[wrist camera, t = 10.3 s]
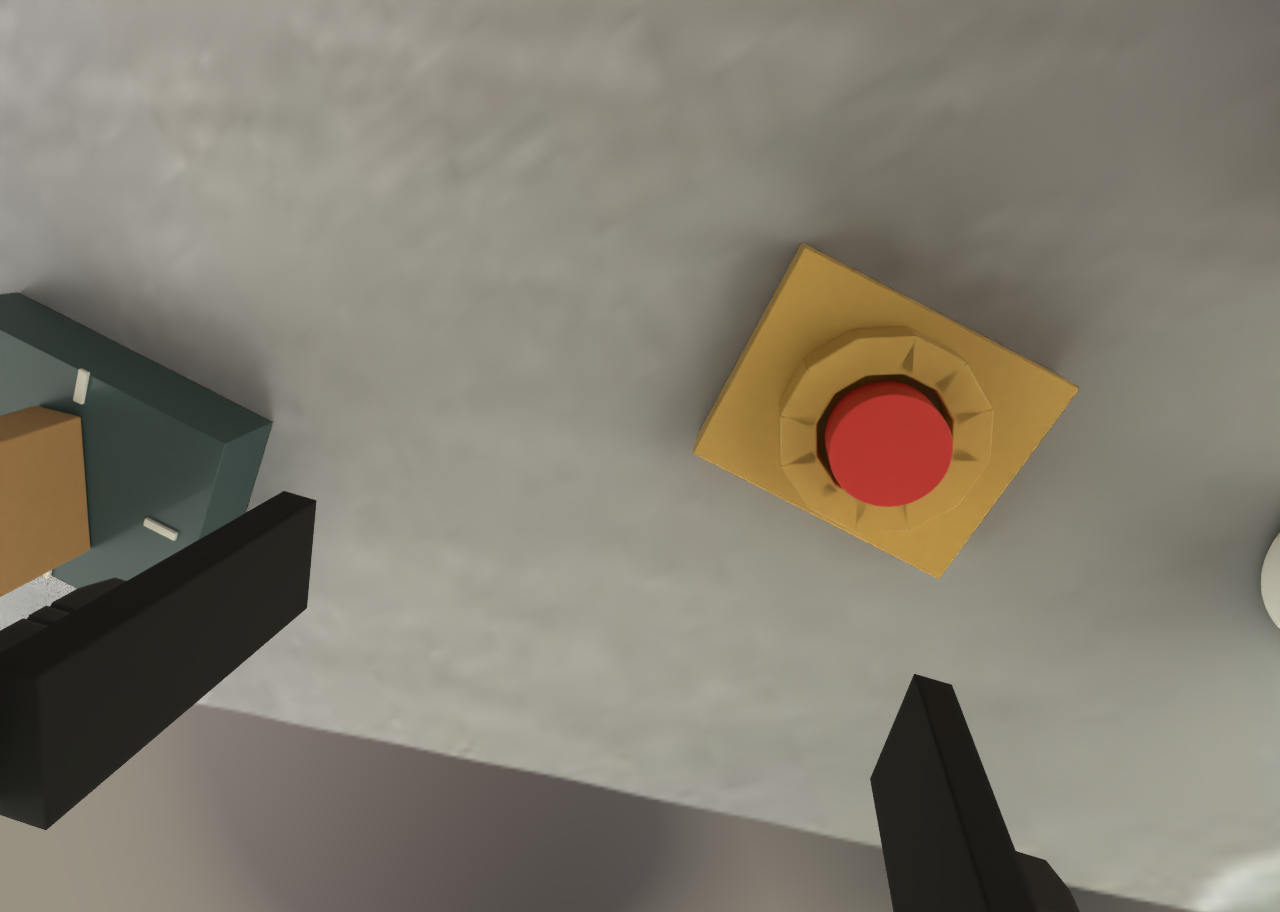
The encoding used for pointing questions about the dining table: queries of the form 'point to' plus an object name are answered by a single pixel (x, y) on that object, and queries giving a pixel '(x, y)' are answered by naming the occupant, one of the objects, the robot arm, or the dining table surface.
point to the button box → (864, 353)
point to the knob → (40, 494)
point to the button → (887, 444)
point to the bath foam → (1272, 581)
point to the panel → (131, 440)
